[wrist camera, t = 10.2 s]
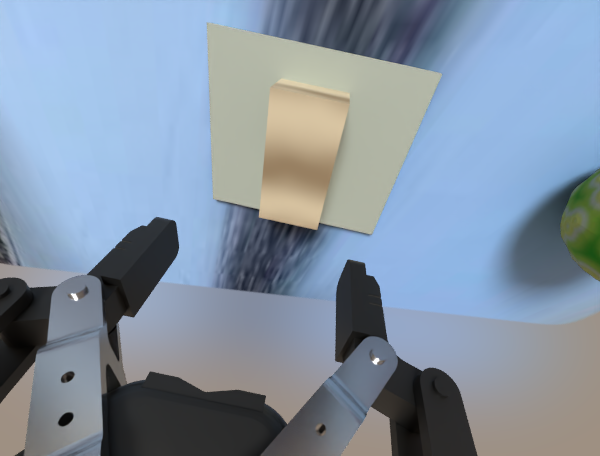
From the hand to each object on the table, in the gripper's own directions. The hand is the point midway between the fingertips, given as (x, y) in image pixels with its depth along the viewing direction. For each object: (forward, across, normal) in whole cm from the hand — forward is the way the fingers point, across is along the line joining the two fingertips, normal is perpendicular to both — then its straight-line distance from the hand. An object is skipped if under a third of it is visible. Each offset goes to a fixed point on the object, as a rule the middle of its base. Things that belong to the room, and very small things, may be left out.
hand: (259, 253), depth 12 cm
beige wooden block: (+12, -1, 0) cm, 13 cm away
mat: (+13, -1, 0) cm, 13 cm away
